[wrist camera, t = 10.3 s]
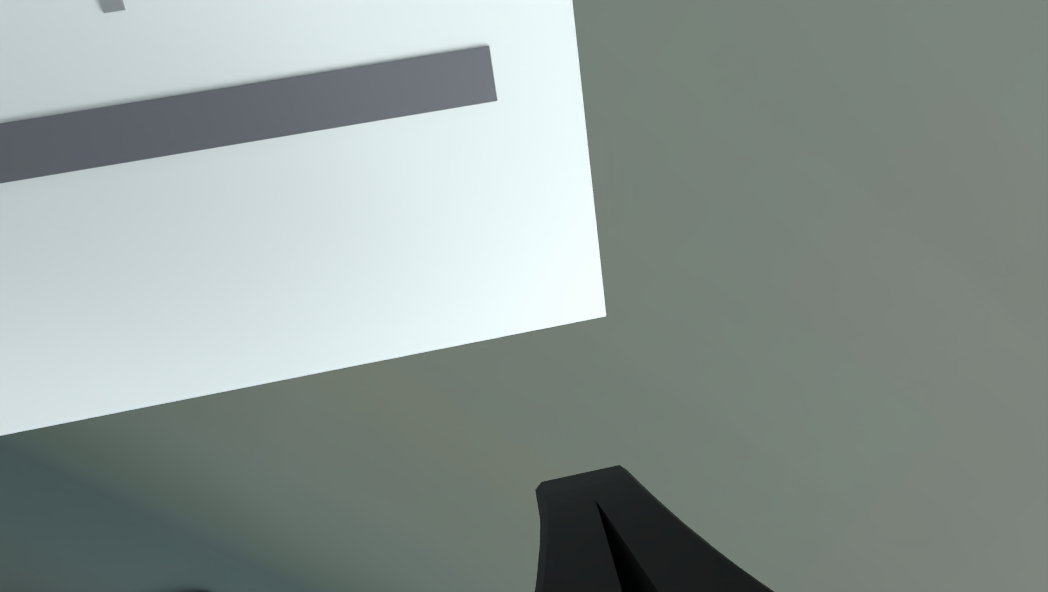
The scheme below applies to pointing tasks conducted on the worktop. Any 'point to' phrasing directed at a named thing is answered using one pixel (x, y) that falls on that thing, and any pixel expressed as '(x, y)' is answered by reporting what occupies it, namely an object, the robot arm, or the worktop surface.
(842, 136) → the worktop surface
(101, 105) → the fader console
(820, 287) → the worktop surface
